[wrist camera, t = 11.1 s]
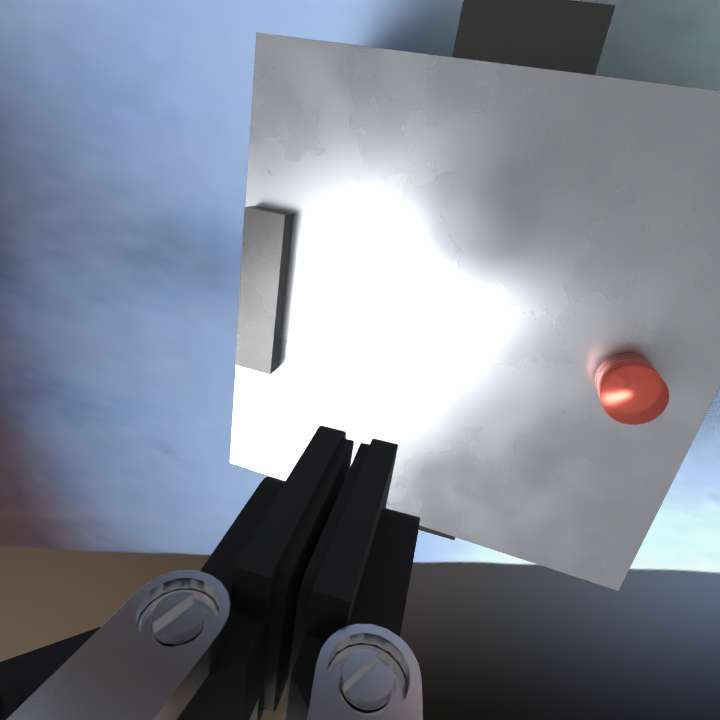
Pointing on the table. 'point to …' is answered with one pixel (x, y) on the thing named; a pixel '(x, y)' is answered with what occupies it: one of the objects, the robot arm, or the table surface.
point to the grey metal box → (533, 40)
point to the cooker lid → (482, 289)
